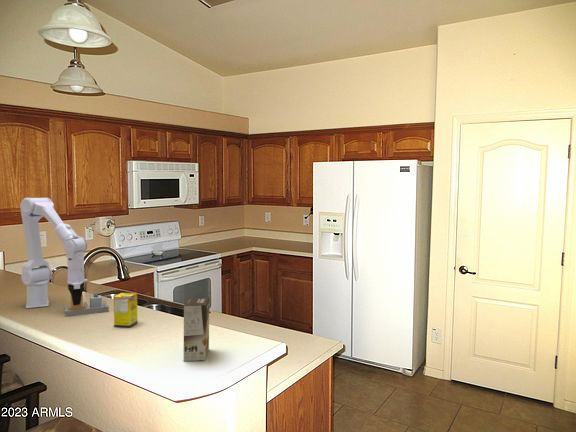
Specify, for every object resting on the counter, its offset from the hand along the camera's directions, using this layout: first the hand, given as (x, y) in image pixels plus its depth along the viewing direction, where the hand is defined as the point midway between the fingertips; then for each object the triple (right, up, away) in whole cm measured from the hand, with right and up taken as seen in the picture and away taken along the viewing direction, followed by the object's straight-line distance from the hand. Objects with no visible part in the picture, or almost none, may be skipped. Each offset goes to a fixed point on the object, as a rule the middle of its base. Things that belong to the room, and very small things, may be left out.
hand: (76, 303), depth 165 cm
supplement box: (+25, -5, -15) cm, 30 cm away
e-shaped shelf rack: (+3, -3, +2) cm, 5 cm away
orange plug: (0, -2, 0) cm, 2 cm away
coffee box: (+56, -7, -41) cm, 70 cm away
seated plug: (+6, -3, +4) cm, 8 cm away
